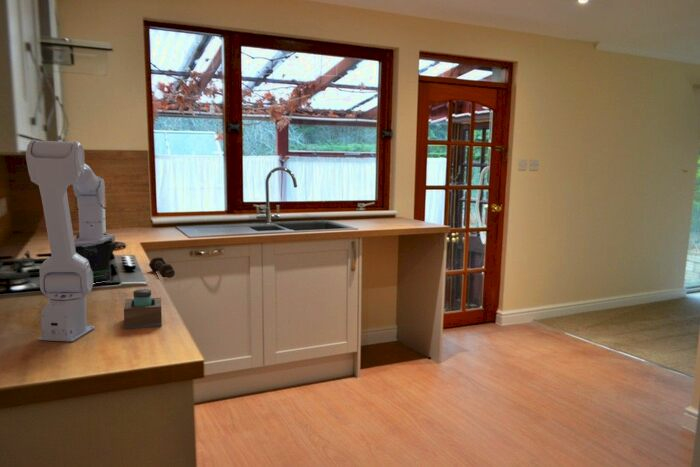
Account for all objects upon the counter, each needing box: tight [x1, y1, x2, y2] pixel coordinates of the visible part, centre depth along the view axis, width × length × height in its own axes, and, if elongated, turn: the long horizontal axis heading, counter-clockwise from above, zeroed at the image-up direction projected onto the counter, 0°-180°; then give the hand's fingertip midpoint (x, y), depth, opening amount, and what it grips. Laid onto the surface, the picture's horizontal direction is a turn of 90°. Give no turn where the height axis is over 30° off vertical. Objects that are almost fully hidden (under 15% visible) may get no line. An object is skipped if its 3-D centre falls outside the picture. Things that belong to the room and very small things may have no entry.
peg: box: [132, 288, 152, 307], centre depth 127 cm, size 4×4×7 cm
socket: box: [123, 297, 163, 330], centre depth 127 cm, size 8×8×5 cm
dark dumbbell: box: [148, 256, 176, 279], centre depth 178 cm, size 6×5×15 cm
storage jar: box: [75, 233, 112, 283], centre depth 165 cm, size 10×10×15 cm
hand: (92, 271), depth 137 cm, fingers open, 7 cm apart
